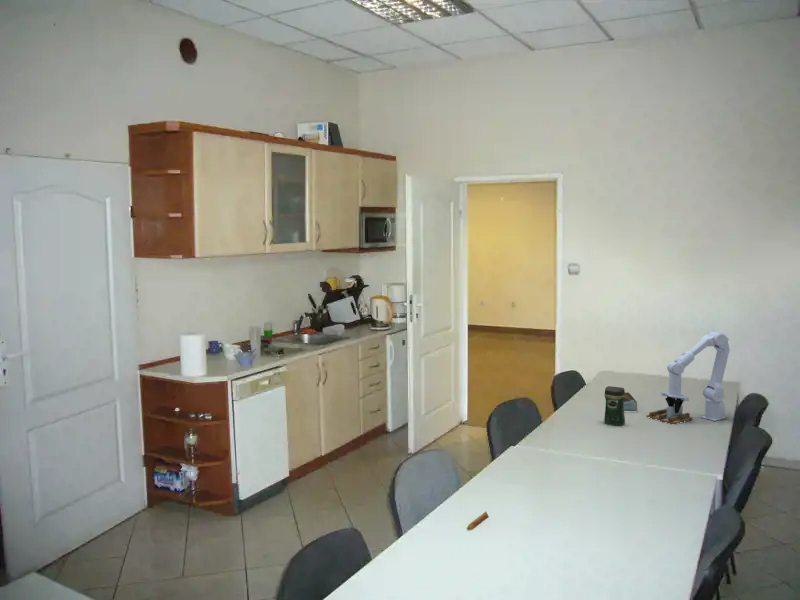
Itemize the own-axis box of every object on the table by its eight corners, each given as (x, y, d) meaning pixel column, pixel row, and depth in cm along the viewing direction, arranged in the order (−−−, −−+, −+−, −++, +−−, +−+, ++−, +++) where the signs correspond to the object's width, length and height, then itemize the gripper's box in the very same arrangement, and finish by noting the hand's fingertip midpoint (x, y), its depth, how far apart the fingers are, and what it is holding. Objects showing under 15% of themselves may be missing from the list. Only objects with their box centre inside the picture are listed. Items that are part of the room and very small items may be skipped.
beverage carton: (621, 412, 361) (621, 400, 360) (614, 403, 380) (614, 391, 379) (637, 412, 360) (637, 400, 360) (629, 403, 379) (629, 391, 379)
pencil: (489, 518, 235) (489, 512, 235) (472, 531, 225) (472, 525, 225) (482, 516, 236) (482, 510, 236) (465, 529, 226) (465, 523, 226)
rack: (665, 412, 358) (665, 407, 358) (692, 419, 345) (692, 414, 344) (646, 417, 350) (646, 411, 350) (673, 424, 337) (673, 418, 336)
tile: (678, 415, 349) (678, 404, 348) (682, 417, 346) (682, 405, 346) (666, 418, 344) (666, 407, 343) (670, 419, 342) (671, 408, 341)
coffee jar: (626, 423, 341) (627, 386, 339) (621, 427, 335) (622, 389, 333) (607, 420, 347) (607, 384, 345) (602, 424, 340) (602, 387, 338)
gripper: (657, 384, 347) (656, 410, 349) (682, 389, 335) (681, 416, 336) (666, 382, 351) (665, 408, 352) (691, 387, 339) (690, 414, 340)
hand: (674, 412), depth 345 cm, fingers closed on tile, 2 cm apart
